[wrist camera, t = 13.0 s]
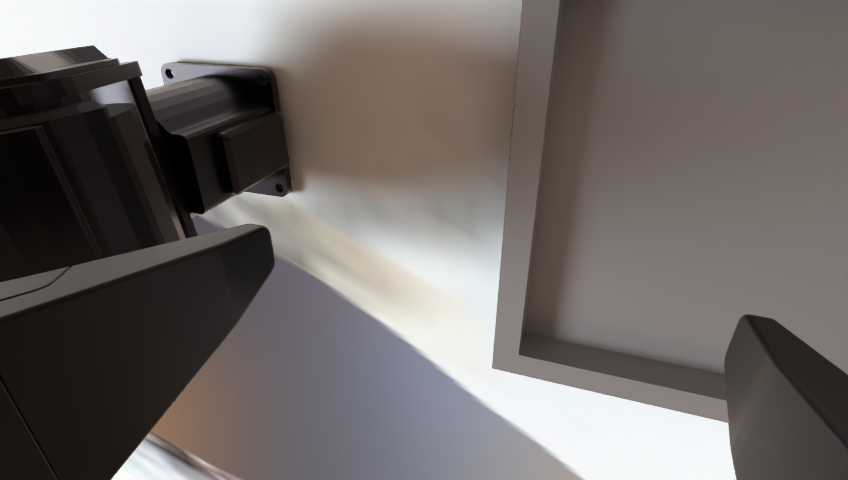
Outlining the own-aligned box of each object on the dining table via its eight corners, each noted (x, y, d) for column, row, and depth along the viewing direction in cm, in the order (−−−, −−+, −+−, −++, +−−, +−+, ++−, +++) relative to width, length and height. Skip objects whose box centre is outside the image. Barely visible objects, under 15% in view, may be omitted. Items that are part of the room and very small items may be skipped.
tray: (501, 336, 26) (492, 368, 24) (537, -55, 17) (527, -59, 15) (1103, 463, 19) (1162, 523, 17) (1658, -80, 11) (1913, -92, 8)
